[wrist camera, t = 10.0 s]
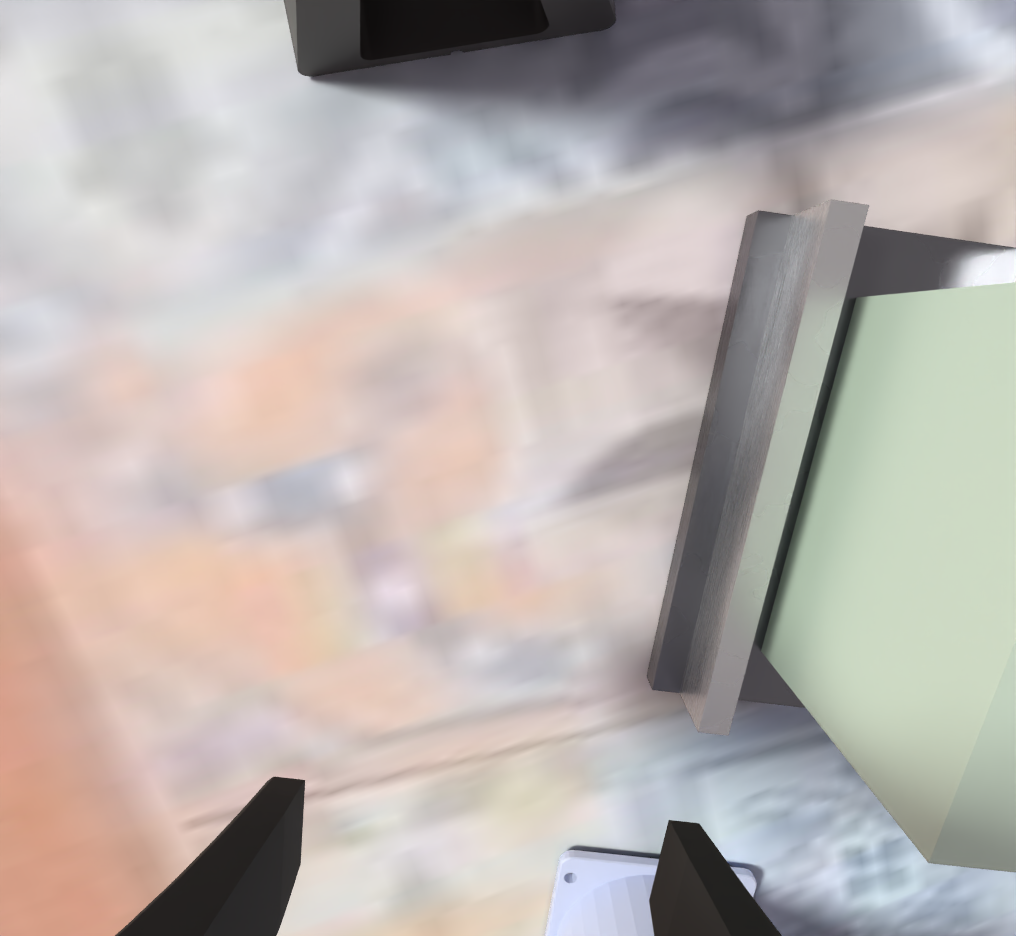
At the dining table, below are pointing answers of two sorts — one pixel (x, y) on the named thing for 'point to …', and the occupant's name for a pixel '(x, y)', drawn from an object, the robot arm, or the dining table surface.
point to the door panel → (915, 569)
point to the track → (776, 434)
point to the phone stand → (427, 28)
